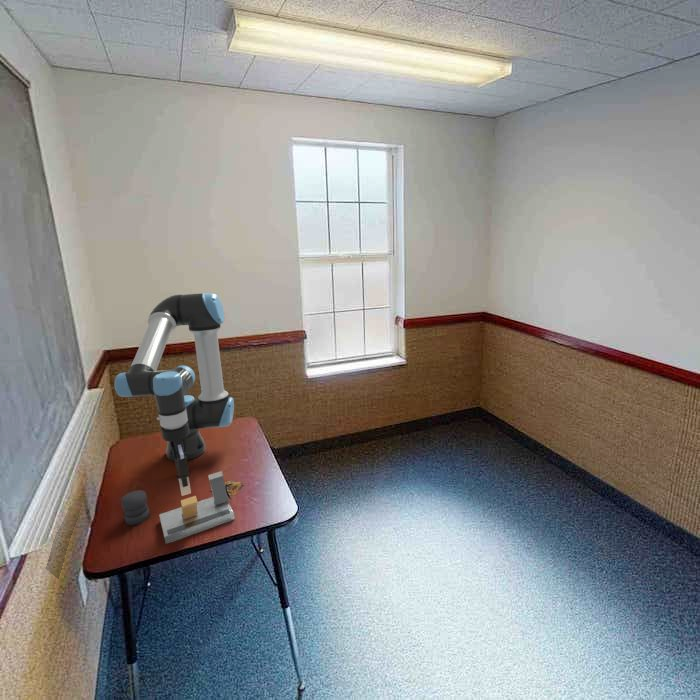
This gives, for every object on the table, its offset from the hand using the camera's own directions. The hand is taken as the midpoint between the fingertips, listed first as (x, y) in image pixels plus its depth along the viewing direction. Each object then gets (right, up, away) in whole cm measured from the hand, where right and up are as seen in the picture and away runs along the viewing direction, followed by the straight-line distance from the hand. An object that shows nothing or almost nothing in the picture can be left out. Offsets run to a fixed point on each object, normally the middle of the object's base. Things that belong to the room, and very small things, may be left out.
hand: (186, 493), depth 129 cm
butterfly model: (+8, -5, +17) cm, 20 cm away
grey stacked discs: (-17, -9, +3) cm, 19 cm away
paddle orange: (+1, -7, -1) cm, 7 cm away
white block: (+10, -5, +4) cm, 12 cm away
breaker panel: (+3, -9, +1) cm, 9 cm away
